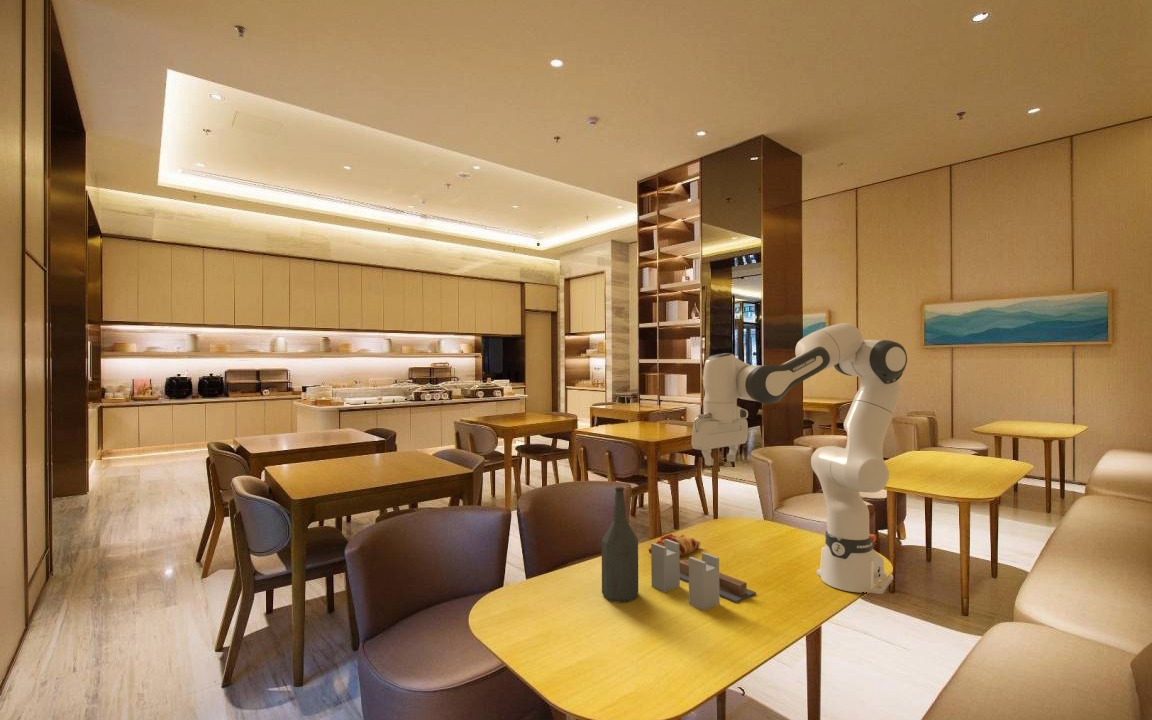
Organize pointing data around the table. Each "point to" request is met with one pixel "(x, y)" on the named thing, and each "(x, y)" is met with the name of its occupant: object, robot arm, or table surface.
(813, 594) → the table surface
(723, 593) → the mat
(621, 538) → the bottle
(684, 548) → the croissant
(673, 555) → the post
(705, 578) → the post
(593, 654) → the table surface
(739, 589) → the rail
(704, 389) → the robot arm
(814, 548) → the table surface
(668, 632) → the table surface
